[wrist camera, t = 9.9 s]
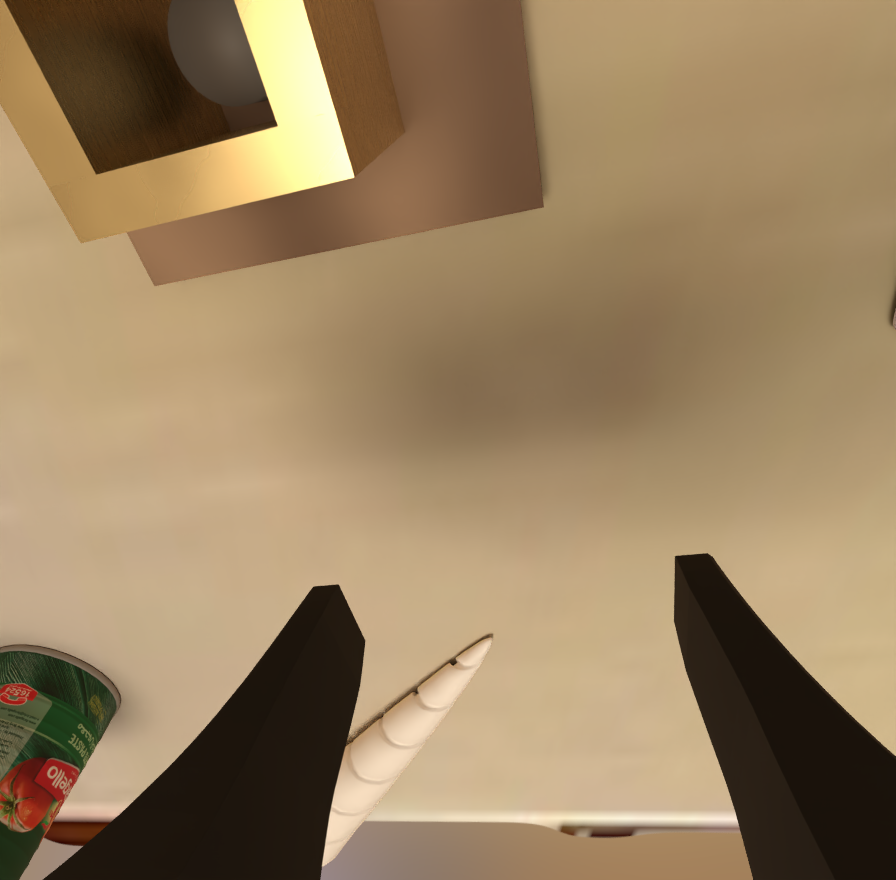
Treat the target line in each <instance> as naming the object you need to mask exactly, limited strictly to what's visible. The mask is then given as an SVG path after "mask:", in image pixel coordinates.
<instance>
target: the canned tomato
mask: <svg viewBox="0 0 896 880" xmlns="http://www.w3.org/2000/svg"><path fill="white" fill-rule="evenodd" d="M119 706H120V696H119V693H118V691H117V689H116V688H115V686H114V685H113V684H112V682H111V681H110V680H109V679H108V678H107V677H105V676H104V675H103V674H102V673H101V672H99V671H98V670H96V669H95V668H94V667H92V666H90V665H89V664H87V663H85V662H83V661H81V660H79V659H77V658H75V657H72V656H70V655H68V654H65V653H62V652H59V651H56V650H52V649H48V648H44V647H39V646H30V645H13V646H7V647H3V648H0V880H19V879H20V877H21V875H22V874H23V872H24V870H25V869H26V868H27V866H28V865H29V862H30V860H31V858H32V856H33V855H34V853H35V851H36V850H37V849H38V847H39V845H40V843H41V841H42V839H43V837H44V836H45V834H46V833H47V831H48V830H49V828H50V826H51V824H52V822H53V820H54V818H55V817H56V815H57V814H58V813H59V810H60V808H61V806H62V804H63V803H64V801H65V800H66V798H67V797H68V795H69V793H70V791H71V789H72V787H73V786H74V784H75V783H76V781H77V779H78V777H79V775H80V773H81V772H82V770H83V769H84V767H85V766H86V763H87V761H88V759H89V758H90V756H91V755H92V753H93V752H94V749H95V747H96V746H97V744H98V742H99V741H100V740H101V738H102V736H103V734H104V732H105V730H106V728H107V727H108V725H109V723H110V721H111V720H112V718H113V716H114V715H115V714H116V713H117V711H118V709H119Z"/></svg>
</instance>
